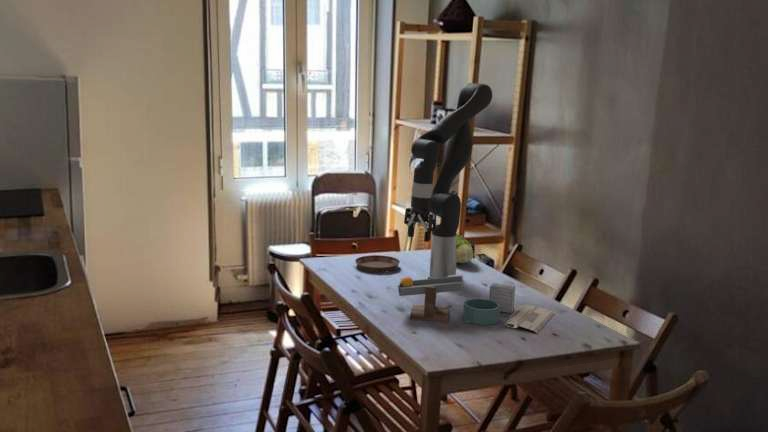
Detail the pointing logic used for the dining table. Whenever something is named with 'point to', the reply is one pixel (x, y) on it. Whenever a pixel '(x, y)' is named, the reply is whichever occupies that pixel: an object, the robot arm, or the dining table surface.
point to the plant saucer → (377, 263)
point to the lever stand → (429, 308)
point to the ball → (406, 282)
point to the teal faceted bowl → (481, 311)
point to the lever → (440, 285)
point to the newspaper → (529, 317)
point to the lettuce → (463, 250)
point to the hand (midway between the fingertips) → (418, 239)
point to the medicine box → (503, 296)
